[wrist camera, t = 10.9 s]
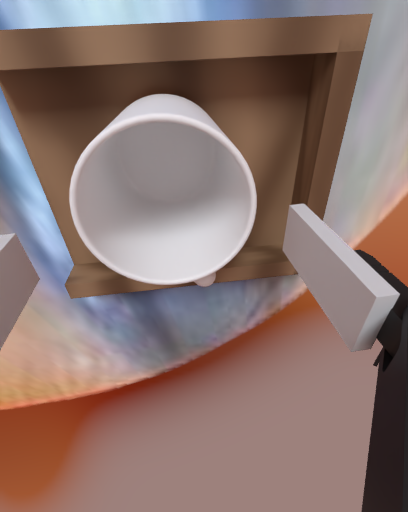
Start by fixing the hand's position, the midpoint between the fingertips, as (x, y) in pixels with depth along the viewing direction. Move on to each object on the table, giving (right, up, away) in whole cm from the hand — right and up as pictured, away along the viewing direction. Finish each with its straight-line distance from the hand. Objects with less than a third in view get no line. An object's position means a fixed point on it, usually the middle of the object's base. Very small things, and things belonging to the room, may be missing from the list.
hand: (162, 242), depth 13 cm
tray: (0, +6, +9) cm, 10 cm away
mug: (0, +6, +8) cm, 10 cm away
